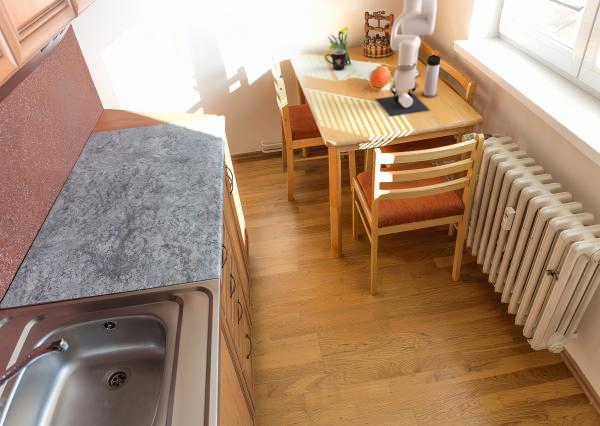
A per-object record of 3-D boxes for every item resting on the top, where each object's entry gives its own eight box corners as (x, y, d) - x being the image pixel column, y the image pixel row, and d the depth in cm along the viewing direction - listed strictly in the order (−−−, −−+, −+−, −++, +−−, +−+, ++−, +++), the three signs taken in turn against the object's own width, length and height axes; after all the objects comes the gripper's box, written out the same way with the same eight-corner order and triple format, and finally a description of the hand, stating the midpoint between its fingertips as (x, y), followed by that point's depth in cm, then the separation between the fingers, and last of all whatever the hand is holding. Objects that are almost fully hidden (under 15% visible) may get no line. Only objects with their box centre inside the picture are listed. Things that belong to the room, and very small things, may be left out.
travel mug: (434, 91, 239) (439, 54, 226) (436, 97, 234) (441, 59, 221) (422, 92, 239) (427, 54, 227) (424, 97, 234) (428, 59, 222)
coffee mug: (348, 66, 274) (348, 50, 267) (341, 71, 268) (341, 55, 262) (331, 64, 279) (331, 48, 272) (324, 69, 273) (324, 52, 267)
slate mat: (376, 99, 235) (376, 98, 235) (412, 94, 238) (412, 93, 238) (390, 115, 220) (390, 115, 220) (428, 110, 222) (428, 109, 222)
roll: (402, 97, 233) (403, 86, 230) (412, 106, 224) (413, 96, 221) (392, 98, 232) (392, 88, 229) (401, 108, 223) (402, 97, 220)
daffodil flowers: (327, 68, 276) (320, 36, 296) (346, 77, 283) (338, 45, 303) (343, 46, 265) (334, 14, 285) (362, 56, 272) (352, 24, 292)
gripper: (419, 61, 221) (415, 96, 232) (385, 66, 219) (383, 100, 230) (425, 67, 215) (421, 102, 226) (391, 71, 213) (388, 107, 224)
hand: (402, 101), depth 228 cm, fingers closed on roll, 6 cm apart
